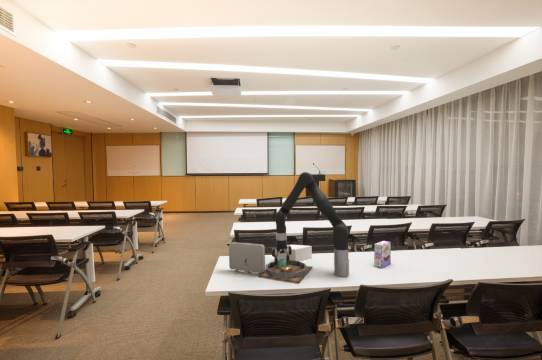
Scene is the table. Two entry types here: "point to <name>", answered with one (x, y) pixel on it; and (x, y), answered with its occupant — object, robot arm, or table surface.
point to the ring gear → (284, 275)
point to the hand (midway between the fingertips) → (282, 261)
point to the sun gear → (286, 268)
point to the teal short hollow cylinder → (281, 262)
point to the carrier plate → (295, 269)
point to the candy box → (382, 254)
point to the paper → (297, 253)
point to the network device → (247, 258)
